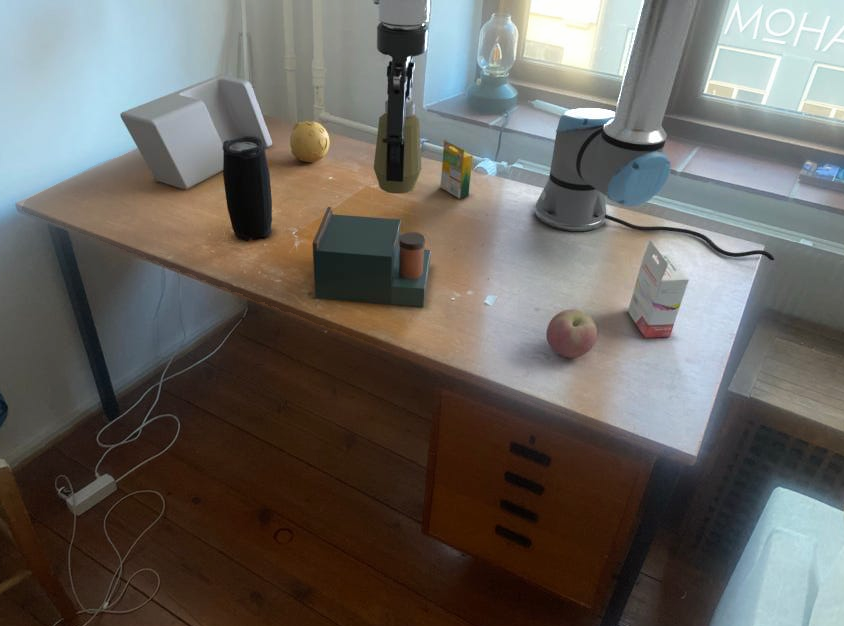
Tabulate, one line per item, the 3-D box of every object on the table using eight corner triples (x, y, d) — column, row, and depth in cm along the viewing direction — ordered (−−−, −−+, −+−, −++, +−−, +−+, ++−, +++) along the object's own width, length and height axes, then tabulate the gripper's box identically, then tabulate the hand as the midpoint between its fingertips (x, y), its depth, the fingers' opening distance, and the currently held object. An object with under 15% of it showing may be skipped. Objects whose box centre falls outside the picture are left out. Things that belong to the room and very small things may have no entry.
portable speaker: (223, 238, 147) (210, 146, 135) (249, 219, 154) (239, 131, 142) (257, 247, 144) (246, 155, 132) (282, 228, 151) (275, 138, 139)
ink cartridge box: (671, 337, 123) (696, 264, 113) (643, 338, 122) (666, 265, 113) (652, 309, 129) (674, 238, 120) (626, 310, 129) (646, 238, 120)
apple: (538, 361, 117) (546, 321, 112) (547, 335, 122) (555, 297, 117) (587, 373, 115) (597, 333, 110) (594, 346, 120) (604, 307, 115)
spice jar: (424, 267, 132) (426, 232, 127) (422, 280, 128) (424, 245, 124) (399, 265, 132) (400, 230, 128) (396, 278, 129) (397, 243, 124)
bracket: (204, 224, 173) (152, 122, 149) (173, 213, 177) (117, 113, 153) (274, 145, 186) (236, 39, 162) (243, 136, 190) (201, 32, 166)
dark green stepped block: (429, 267, 140) (433, 214, 132) (423, 307, 129) (426, 251, 122) (329, 259, 141) (327, 206, 134) (315, 297, 131) (312, 242, 123)
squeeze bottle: (416, 200, 117) (422, 89, 106) (368, 195, 118) (369, 84, 107) (423, 179, 124) (429, 73, 112) (378, 175, 125) (379, 69, 113)
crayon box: (469, 196, 165) (474, 147, 158) (459, 199, 163) (463, 150, 156) (449, 184, 169) (453, 137, 162) (440, 187, 168) (443, 139, 161)
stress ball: (291, 153, 183) (288, 114, 176) (329, 152, 183) (327, 113, 177) (291, 169, 175) (288, 129, 169) (331, 168, 176) (329, 128, 170)
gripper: (385, 6, 113) (382, 144, 127) (367, 40, 97) (366, 194, 111) (432, 8, 113) (424, 147, 127) (422, 43, 96) (414, 198, 111)
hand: (397, 169), depth 119 cm, fingers closed on squeeze bottle, 8 cm apart
